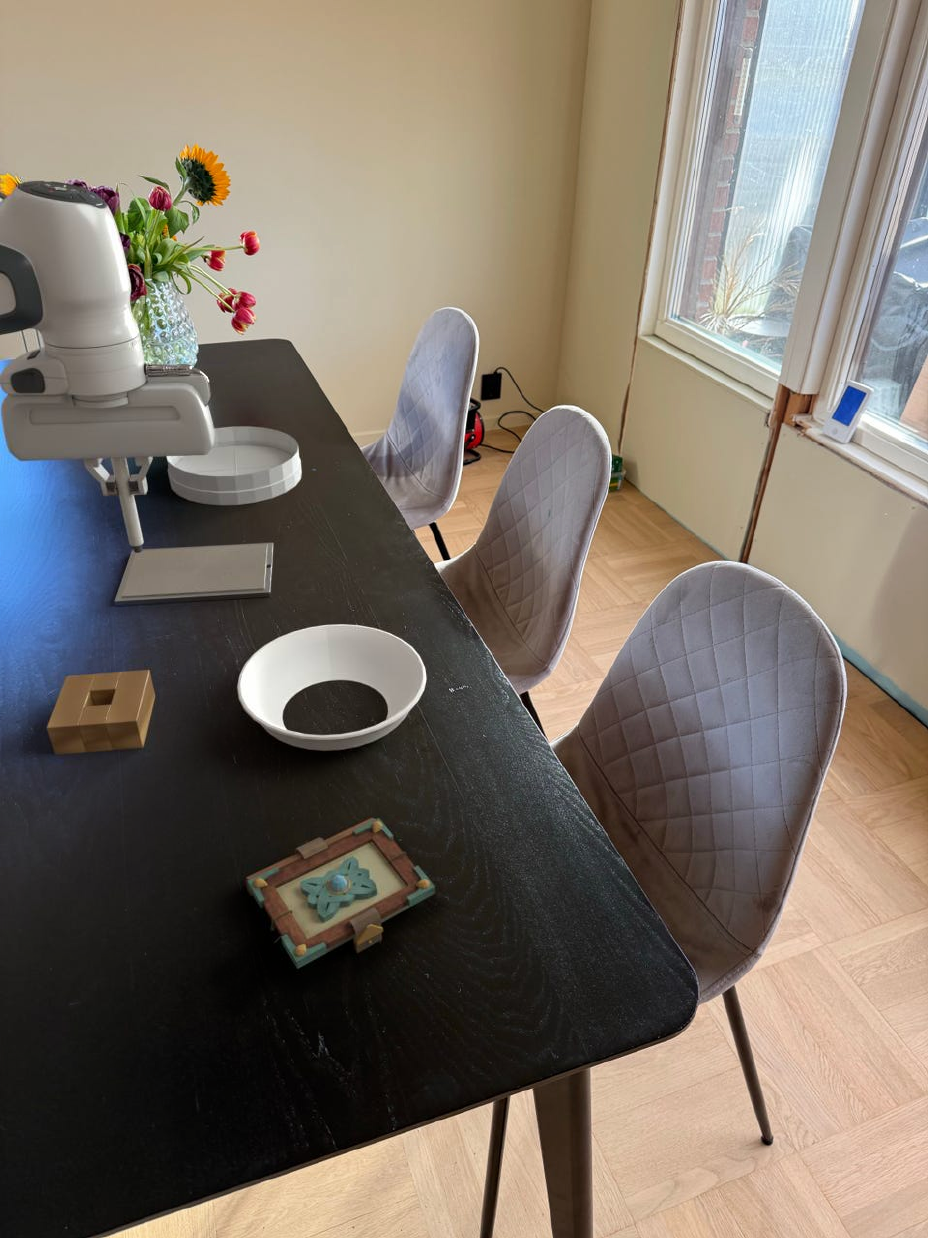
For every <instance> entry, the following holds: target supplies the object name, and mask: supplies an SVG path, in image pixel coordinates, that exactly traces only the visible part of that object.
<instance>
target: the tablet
mask: <svg viewBox="0 0 928 1238" xmlns="http://www.w3.org/2000/svg"><path fill="white" fill-rule="evenodd" d="M274 548H275V547H274V542H259V543H242V544H224V545H223V544H222V545H220V544H219V545H204V546H203V545H202V546H185V547H182V546H181V547H164V548H163V547H162V548H142V552H140V553H135V552H134V549H132V550H131V552H130V555H129V558H128V561H127V564H126V567H125V570H124V573H123V575H122V578H121V582H120V584H119V587H118V590H117V593H116V595H115V597H114V598H115V599H114V606H115V607H124V606H141V605H159V604H172V603H189V602H190V603H191V602H206V601H222V600H223V601H224V600H236V599H237V600H240V599H256V598H257V599H258V598H259V599H260V598H271V594H272V580H273V566H274V565H273V563H274Z"/></svg>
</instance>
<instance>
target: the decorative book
mask: <svg viewBox="0 0 928 1238" xmlns="http://www.w3.org/2000/svg"><path fill="white" fill-rule="evenodd" d="M294 853H295V854H293V855H291V856H289V857H285V858H284V859H282V860H279V861H277V862H276V863H274V864H272V865H269V866H268V867H266V868H263V869H260V870H259V871H257V872H254V873H252V874H251V875H249V876H247V877H245V887H246V889H247V892H248V894H249V895H250V897H253V898H254V900H255V901H256V903H257V904H258V906H259V907H260V909H261V910H262V909H263V908H264V911H265V912H266V914H267V915H268V917H269V919H270V920H271V924H270V931H273V932H274V931H275V929H276V930H277V932H278V933H279V937H278V938H276V939H275V940H274V941H273V944H275V943H277V942H279V940H281V944H282V946H283V948H284V949H285V951H286V952H287V955H288V956H289V958H290V959H291V961H292V963H293V964H294V966H295V967H296V969H297V970H298V969H300V968H302V967H303V966H306V965H307V964H309V963H312V962H313V961H314V960H317V959H319V958H320V957H322V956H324V955H325V954H327V953H329V952H331V951H333V950H335V949H336V948H338V947H340V946H342V945H344V944H346V943H347V942H349V941H351V940H352V941H353V949H354V951H355V952H356V954H358V953H360V952H362V951H364V950H366V949H367V948H369V947H371V946H373V945H374V944H376V943H378V942H380V941H382V940H383V935H382V933H383V932H384V927H382V923H383V922H386V921H387V920H389V919H391V918H393V917H394V916H396V915H398V914H400V913H402V912H403V911H405V910H407V909H410V908H411V907H413V906H415V905H417V904H419V903H420V902H423V901H424V900H426V899H428V898H430V897H431V896H434V895H435V894H436V885H435V884H434V883H433V882H432V881H431V879H430V878H429V877H428V876H427V874H426V873H425V872H424V871H423V870H422V868H421V867H420V866H419V865H416V866H415V865H414V863H413V862H412V861H411V859H410V858H409V857H408V855H407V852H406V851H403V850H402V849H401V847H400V846H399V845H398V844H397V842H396V841H395V840H394V834H393V833H392V832H391V830H390V829H389V828H388V827H387V826H386V825H385V824H384V823H383V821H382V820H381V819H380V817H378V818H374V817H371V818H368V819H366V820H364V821H361V822H360V823H358V824H355V825H354V826H351V827H349V828H348V829H345V830H343V831H341V832H339V833H337V834H335V835H333V836H331V837H328V838H326V839H323V838H322V837H317V838H315V839H313V840H311V841H309V842H306V843H305V844H302V845H300V846H297V847H296V848H295V849H294Z"/></svg>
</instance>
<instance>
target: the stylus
mask: <svg viewBox="0 0 928 1238" xmlns="http://www.w3.org/2000/svg"><path fill="white" fill-rule="evenodd" d="M127 460H128V459H127V458H110V462H111V466H112V472H113V475H114V476H115V480H116V485H117V489H118V494H119V495H118V498H119V503H120V507H121V512H122V517H123V521H124V526H125V528H126V529H125V530H126V535H127V538H128V539H127V540H128V543H129V545H130V546H131V547H132V548H133V549H132V550H134V552H135V553H140V552H142V549H143V546H142V545H143V544H144V537H143V532H142V528H141V524H140V523H141V522H140V518H139V513H138V508H137V504H136V503H137V502H136V500H135V495H131V492H130V490H131V488H130V487H129V482H128V481H129V479H130V476H131V474H130V470H129V466H128V461H127Z"/></svg>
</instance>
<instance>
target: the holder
mask: <svg viewBox="0 0 928 1238" xmlns="http://www.w3.org/2000/svg"><path fill="white" fill-rule="evenodd" d="M155 700H156V693H155V689H154V684H153V679H152V675H151V670H149V669H144V670H130V671H129V670H128V671H117V672H116V671H115V672H100V673H90V674H89V673H88V674H87V673H85V674H74V675H66V676H65V678H64V682H63V684H62V686H61V689H60V691H59V694H58V696H57V699H56V702H55V704H54V707H53V710H52V713H51V714H50V715H51V716H50V718H49V720H48V723H47V726H46V731H47V734H48V737H49V739H50V743H51V746H52V749H53V752H54V755H55V756H59V755H68V754H69V755H70V754H72V755H73V754H82V753H83V754H85V753H97V752H106V751H107V752H108V751H119V750H131V749H143V748H144V746H145V741H146V738H147V733H148V730H149V729H148V728H149V725H150V722H151V721H150V720H151V716H152V711H153V708H154V703H155Z"/></svg>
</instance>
